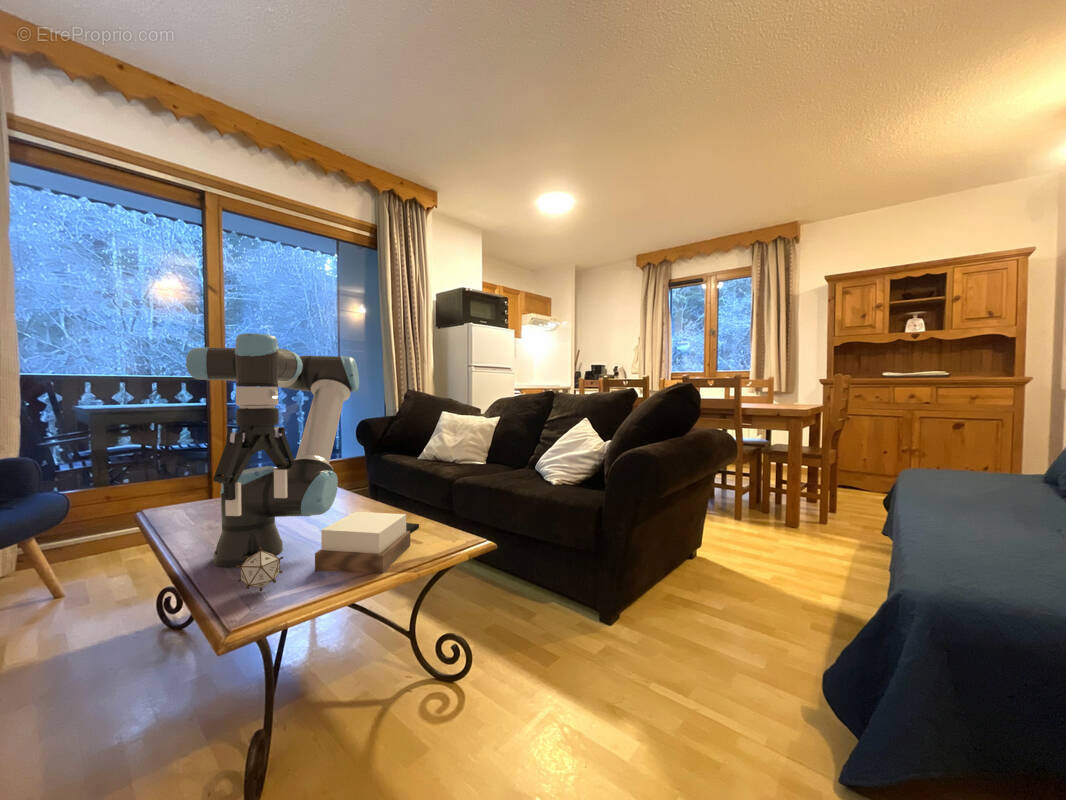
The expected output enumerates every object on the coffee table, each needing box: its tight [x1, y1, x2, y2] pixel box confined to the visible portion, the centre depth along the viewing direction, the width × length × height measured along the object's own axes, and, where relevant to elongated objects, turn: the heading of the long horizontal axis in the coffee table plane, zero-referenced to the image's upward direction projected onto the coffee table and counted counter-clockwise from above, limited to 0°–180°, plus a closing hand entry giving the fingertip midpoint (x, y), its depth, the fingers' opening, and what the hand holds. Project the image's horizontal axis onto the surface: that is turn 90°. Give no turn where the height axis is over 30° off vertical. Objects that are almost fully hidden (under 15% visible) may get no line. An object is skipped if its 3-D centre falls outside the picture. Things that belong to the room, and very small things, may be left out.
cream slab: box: [320, 511, 407, 554], centre depth 107 cm, size 15×15×5 cm
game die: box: [235, 547, 284, 593], centre depth 89 cm, size 9×8×10 cm
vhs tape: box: [406, 522, 420, 534], centre depth 124 cm, size 8×14×2 cm, turn 166°
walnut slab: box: [314, 531, 411, 574], centre depth 107 cm, size 17×17×5 cm
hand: (258, 506), depth 89 cm, fingers open, 13 cm apart
